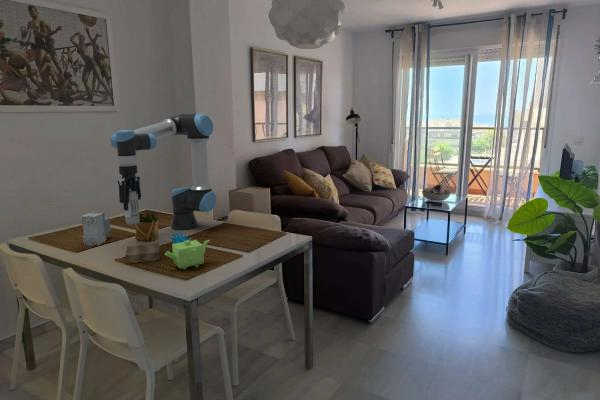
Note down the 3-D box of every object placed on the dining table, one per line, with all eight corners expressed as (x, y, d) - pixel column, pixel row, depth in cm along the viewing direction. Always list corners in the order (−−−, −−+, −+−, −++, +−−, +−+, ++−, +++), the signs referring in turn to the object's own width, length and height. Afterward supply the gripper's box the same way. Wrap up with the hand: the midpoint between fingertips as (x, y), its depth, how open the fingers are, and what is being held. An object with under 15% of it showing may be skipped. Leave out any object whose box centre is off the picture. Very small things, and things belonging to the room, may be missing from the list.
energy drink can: (131, 225, 184) (128, 193, 181) (123, 224, 187) (120, 191, 184) (142, 223, 189) (140, 191, 186) (134, 221, 192) (131, 189, 189)
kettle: (211, 261, 182) (210, 237, 180) (198, 273, 169) (197, 247, 166) (180, 259, 185) (179, 235, 183) (165, 270, 171) (163, 245, 169)
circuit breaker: (113, 237, 219) (110, 210, 216) (98, 245, 205) (94, 216, 202) (100, 236, 220) (97, 209, 217) (83, 245, 206) (80, 216, 203)
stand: (159, 250, 196) (158, 242, 196) (160, 260, 184) (159, 251, 183) (127, 254, 192) (127, 246, 191) (126, 264, 179) (125, 255, 178)
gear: (176, 249, 193) (169, 232, 197) (171, 256, 196) (163, 239, 200) (196, 247, 202) (188, 230, 205) (190, 253, 205) (183, 237, 208)
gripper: (132, 162, 192) (136, 210, 197) (106, 167, 174) (112, 220, 178) (146, 162, 191) (150, 211, 195) (122, 167, 172) (127, 220, 177)
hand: (132, 215), depth 187 cm, fingers closed on energy drink can, 6 cm apart
